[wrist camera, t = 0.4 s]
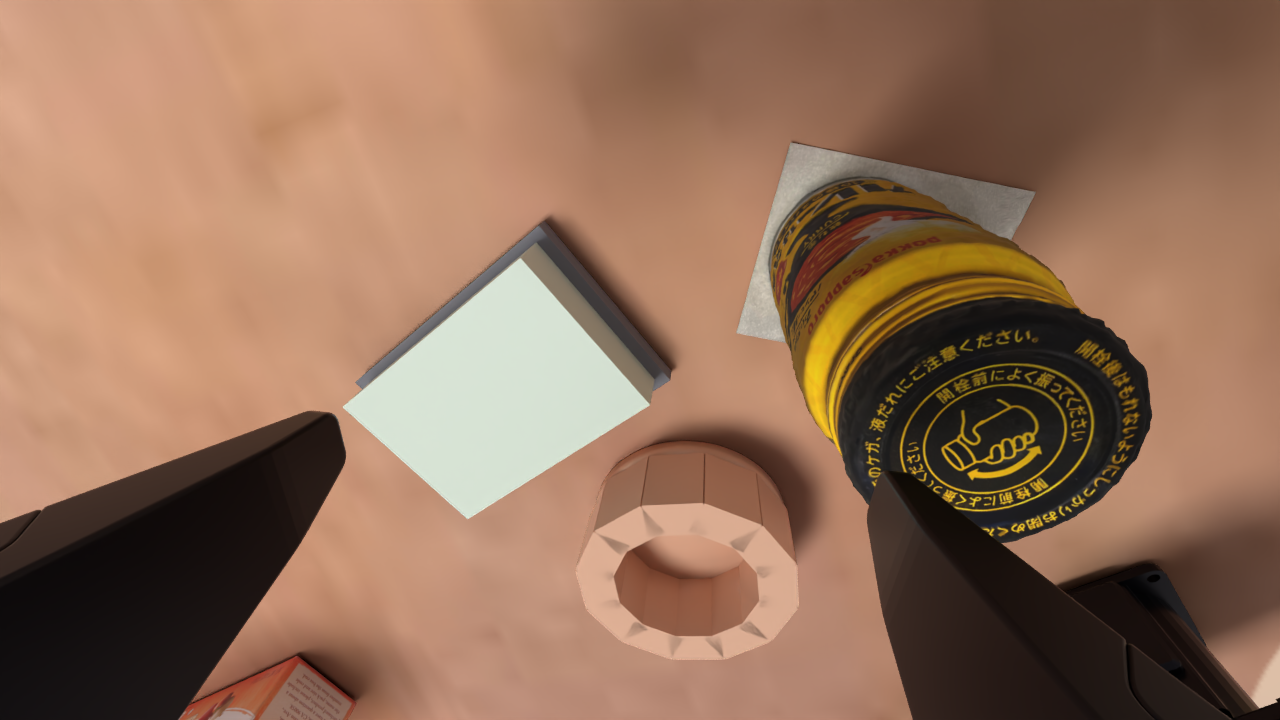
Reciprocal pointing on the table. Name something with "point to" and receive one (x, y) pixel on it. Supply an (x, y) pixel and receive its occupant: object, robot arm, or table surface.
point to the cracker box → (276, 697)
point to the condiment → (943, 342)
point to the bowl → (689, 553)
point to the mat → (575, 276)
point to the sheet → (504, 387)
